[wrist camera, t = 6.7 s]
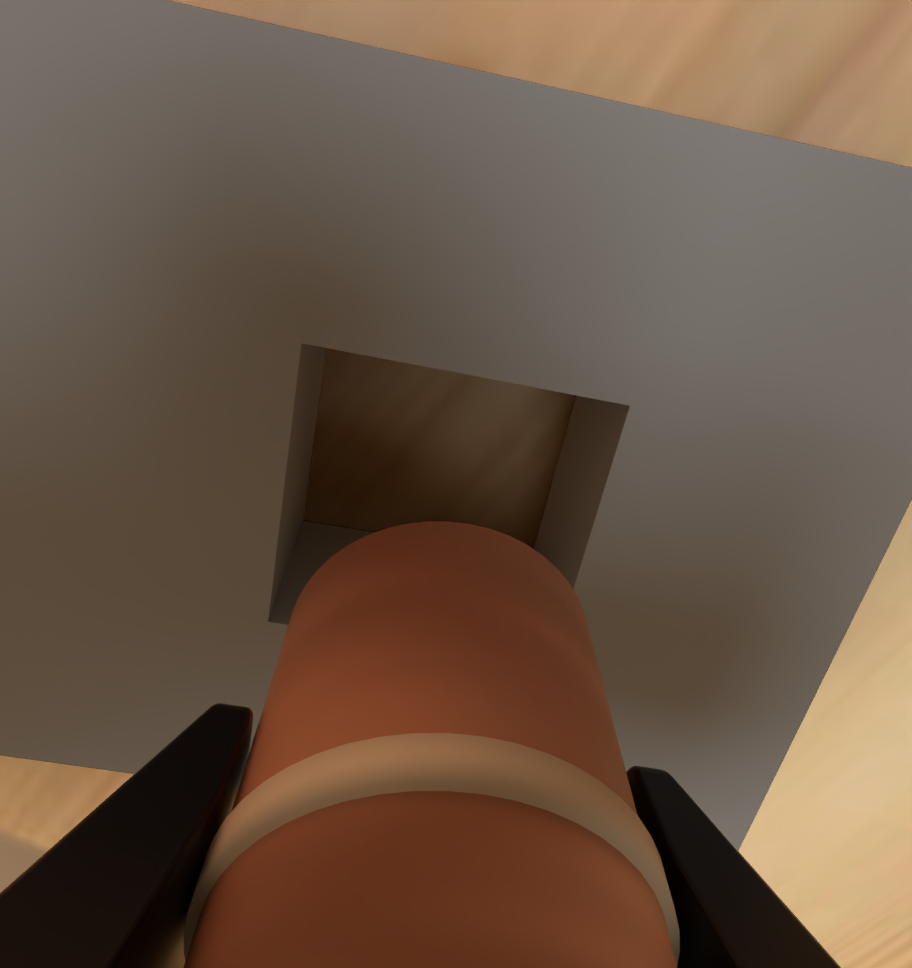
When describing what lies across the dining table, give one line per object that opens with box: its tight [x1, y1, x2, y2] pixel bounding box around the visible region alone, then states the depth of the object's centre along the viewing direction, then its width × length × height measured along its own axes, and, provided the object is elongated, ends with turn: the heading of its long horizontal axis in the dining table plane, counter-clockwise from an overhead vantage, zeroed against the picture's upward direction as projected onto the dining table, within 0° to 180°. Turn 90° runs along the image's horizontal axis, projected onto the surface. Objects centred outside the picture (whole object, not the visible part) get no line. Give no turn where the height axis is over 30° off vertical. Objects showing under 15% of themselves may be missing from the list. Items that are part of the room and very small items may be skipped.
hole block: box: [0, 0, 912, 850], centre depth 16 cm, size 16×14×4 cm
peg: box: [184, 521, 680, 968], centre depth 7 cm, size 4×4×8 cm
